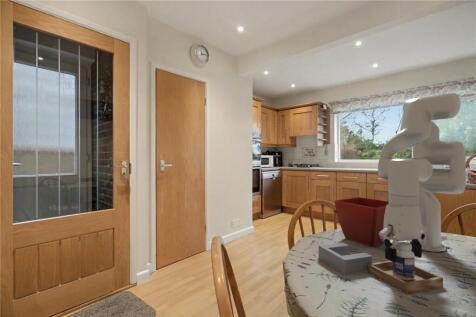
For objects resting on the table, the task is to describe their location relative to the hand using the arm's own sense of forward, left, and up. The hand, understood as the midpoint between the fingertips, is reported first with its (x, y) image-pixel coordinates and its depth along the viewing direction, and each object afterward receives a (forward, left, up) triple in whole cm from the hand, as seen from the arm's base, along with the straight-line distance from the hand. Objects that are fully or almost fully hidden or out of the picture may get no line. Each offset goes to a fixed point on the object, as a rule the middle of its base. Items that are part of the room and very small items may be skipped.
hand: (403, 258), depth 71 cm
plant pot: (-17, -30, -6) cm, 35 cm away
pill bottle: (0, 0, -6) cm, 6 cm away
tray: (0, 0, -6) cm, 6 cm away
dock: (+9, -13, -6) cm, 17 cm away
